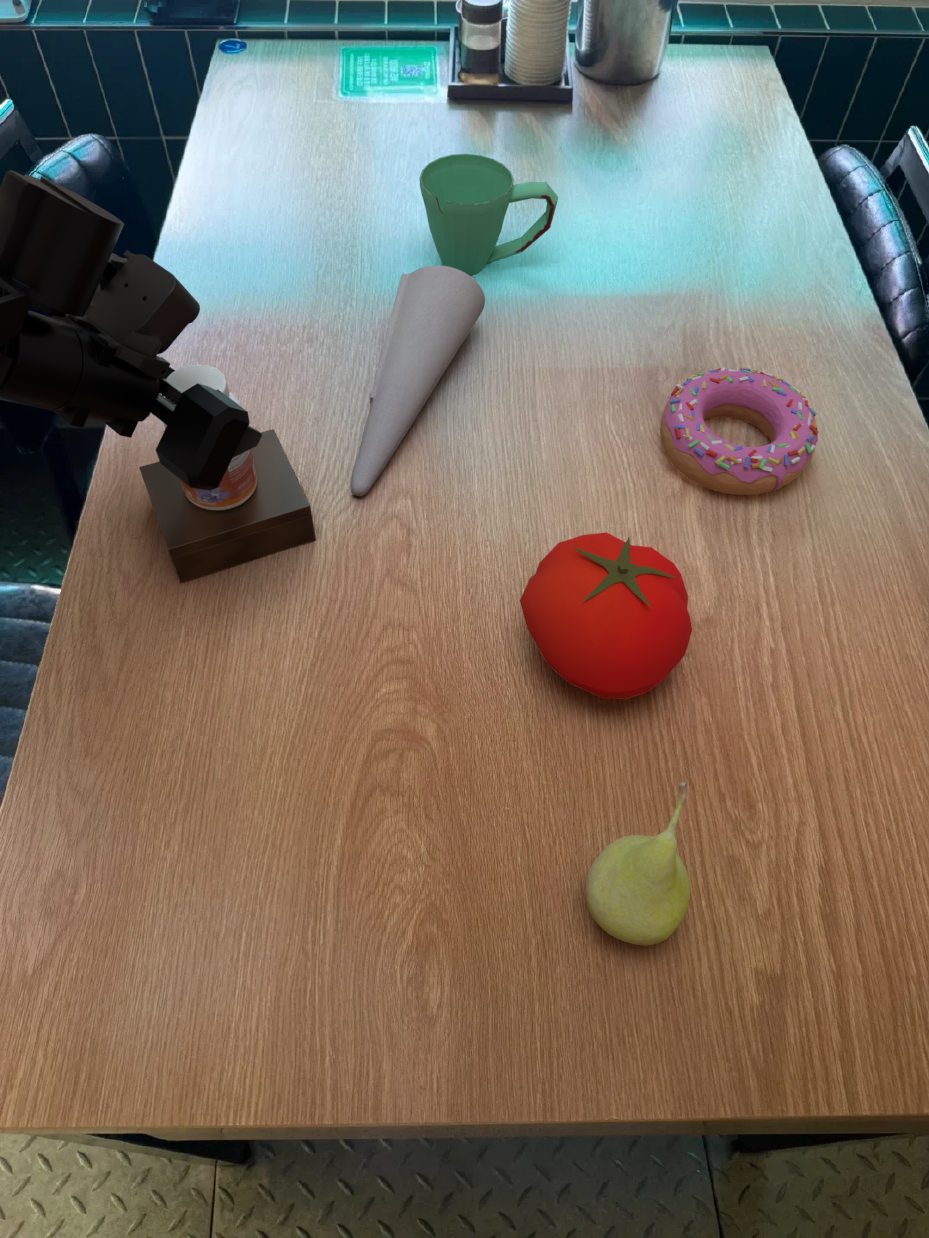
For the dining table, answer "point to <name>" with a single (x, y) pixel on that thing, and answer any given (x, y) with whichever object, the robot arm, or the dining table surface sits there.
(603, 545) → the tomato
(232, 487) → the pill bottle
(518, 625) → the dining table surface
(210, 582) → the dining table surface
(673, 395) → the donut
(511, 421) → the dining table surface
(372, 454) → the grey tapered cone
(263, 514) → the dark wooden box
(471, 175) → the mug
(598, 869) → the fruit
